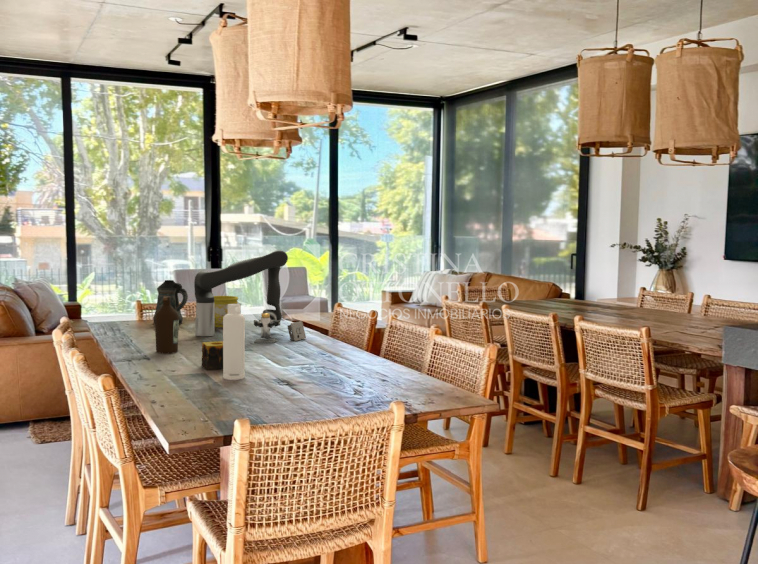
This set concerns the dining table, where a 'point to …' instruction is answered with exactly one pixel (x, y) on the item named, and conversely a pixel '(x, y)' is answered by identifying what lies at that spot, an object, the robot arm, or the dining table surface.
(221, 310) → the flowerpot
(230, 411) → the dining table surface
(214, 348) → the yellow black spotted box
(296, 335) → the electrical switch
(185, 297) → the beer stein
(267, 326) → the canister
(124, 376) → the dining table surface
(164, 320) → the olive oil
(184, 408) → the dining table surface
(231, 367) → the bottle
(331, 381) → the dining table surface
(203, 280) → the robot arm
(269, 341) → the mat
